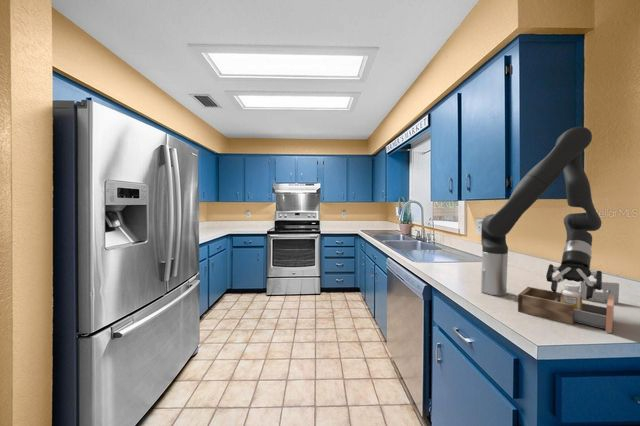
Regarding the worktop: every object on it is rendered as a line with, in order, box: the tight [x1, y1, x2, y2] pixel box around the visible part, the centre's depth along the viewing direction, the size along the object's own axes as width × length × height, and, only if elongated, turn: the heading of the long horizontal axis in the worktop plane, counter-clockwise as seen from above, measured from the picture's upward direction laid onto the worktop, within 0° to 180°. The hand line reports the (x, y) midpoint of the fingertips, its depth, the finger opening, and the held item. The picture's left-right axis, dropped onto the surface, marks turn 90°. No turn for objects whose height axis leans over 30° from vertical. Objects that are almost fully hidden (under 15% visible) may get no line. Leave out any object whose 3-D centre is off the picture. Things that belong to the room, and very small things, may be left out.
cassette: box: [579, 280, 620, 304], centre depth 113 cm, size 12×2×8 cm, turn 72°
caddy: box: [517, 286, 574, 325], centre depth 101 cm, size 15×14×6 cm
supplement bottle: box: [560, 282, 583, 311], centre depth 96 cm, size 5×5×10 cm
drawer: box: [554, 295, 615, 334], centre depth 94 cm, size 14×14×8 cm
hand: (570, 294), depth 95 cm, fingers open, 8 cm apart
